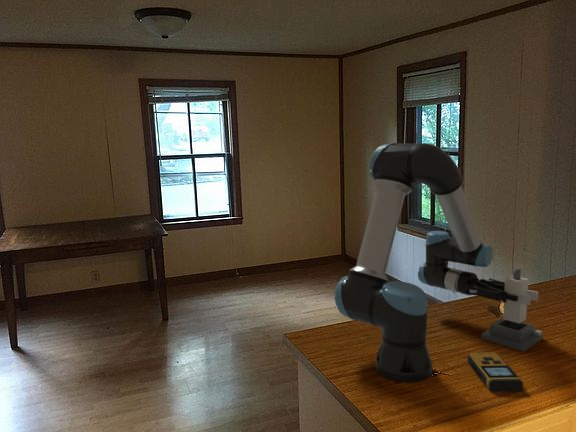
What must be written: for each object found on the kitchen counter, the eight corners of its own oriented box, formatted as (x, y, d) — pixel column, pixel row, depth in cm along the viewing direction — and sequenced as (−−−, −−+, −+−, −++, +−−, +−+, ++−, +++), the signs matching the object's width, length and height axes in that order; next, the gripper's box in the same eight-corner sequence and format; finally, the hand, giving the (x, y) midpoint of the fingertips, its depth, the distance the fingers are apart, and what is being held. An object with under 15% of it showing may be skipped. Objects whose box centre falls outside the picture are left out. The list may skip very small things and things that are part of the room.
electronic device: (497, 362, 136) (497, 350, 136) (524, 393, 120) (525, 379, 120) (465, 362, 137) (465, 350, 136) (488, 393, 120) (489, 380, 120)
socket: (523, 351, 141) (524, 337, 140) (481, 338, 151) (481, 324, 150) (542, 338, 149) (543, 324, 148) (501, 326, 159) (501, 313, 158)
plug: (519, 323, 146) (522, 272, 144) (503, 319, 150) (505, 269, 147) (526, 319, 149) (528, 269, 147) (509, 315, 153) (512, 266, 150)
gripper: (475, 286, 168) (545, 303, 151) (447, 298, 157) (519, 318, 139) (475, 265, 167) (547, 280, 149) (447, 276, 156) (521, 293, 138)
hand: (533, 298), depth 144 cm, fingers closed on plug, 4 cm apart
